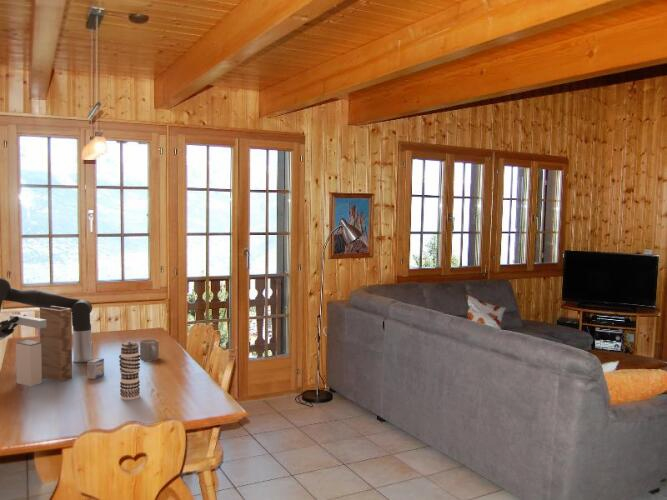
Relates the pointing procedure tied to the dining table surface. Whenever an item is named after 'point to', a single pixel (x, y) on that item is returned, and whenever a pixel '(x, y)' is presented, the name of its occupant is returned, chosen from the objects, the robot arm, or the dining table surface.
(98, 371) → the medicine box
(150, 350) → the coffee mug
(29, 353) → the block
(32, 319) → the bar
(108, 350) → the dining table surface
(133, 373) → the decorative candle
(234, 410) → the dining table surface
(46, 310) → the stand
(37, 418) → the dining table surface
